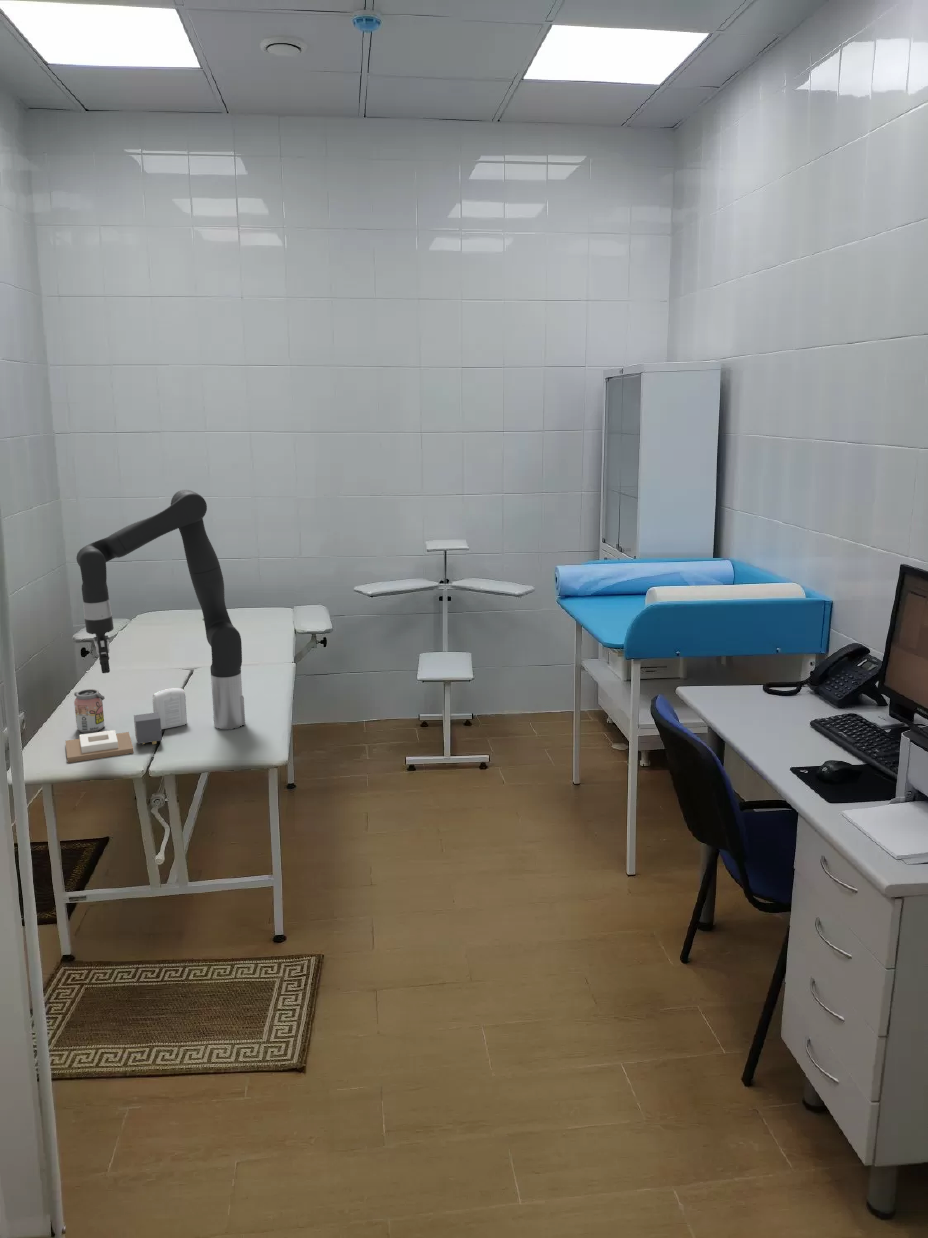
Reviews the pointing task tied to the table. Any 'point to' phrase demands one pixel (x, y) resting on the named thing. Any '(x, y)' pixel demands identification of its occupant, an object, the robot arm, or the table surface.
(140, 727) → the plug
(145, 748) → the table surface
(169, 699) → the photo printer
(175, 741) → the table surface
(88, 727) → the beverage can
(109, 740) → the socket
